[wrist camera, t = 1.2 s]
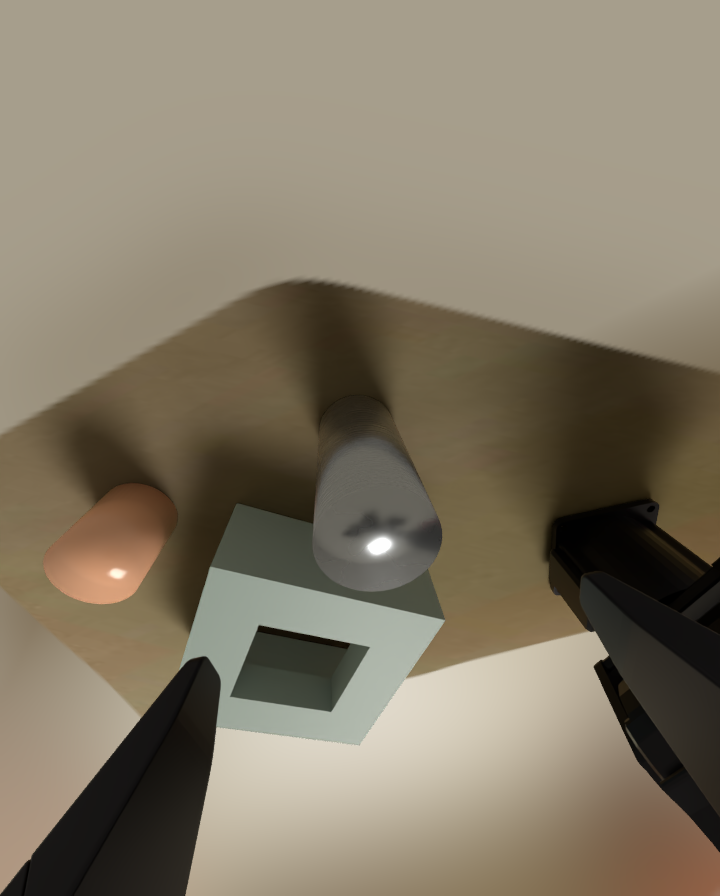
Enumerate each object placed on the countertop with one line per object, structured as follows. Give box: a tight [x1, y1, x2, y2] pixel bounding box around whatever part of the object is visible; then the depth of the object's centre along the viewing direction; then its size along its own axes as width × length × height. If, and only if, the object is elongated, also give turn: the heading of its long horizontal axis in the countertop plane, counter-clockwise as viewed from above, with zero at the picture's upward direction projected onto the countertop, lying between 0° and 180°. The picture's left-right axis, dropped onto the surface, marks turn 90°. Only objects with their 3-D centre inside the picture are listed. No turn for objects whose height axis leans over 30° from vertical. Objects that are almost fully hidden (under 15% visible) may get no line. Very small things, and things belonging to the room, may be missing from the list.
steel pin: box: [312, 395, 442, 592], centre depth 15 cm, size 4×4×9 cm
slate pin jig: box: [179, 503, 445, 745], centre depth 22 cm, size 12×12×5 cm
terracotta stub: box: [43, 483, 178, 604], centre depth 18 cm, size 4×4×4 cm
